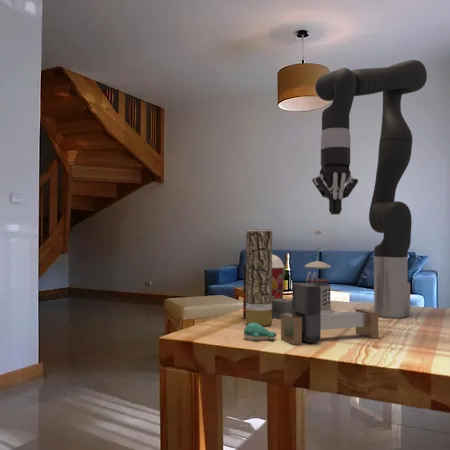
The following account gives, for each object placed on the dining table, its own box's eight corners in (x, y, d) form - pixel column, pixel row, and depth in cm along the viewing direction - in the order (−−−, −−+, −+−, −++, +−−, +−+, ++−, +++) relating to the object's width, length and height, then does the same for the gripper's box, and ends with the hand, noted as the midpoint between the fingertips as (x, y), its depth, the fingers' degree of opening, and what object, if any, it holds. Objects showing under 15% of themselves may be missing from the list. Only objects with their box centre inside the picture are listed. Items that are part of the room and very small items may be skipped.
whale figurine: (248, 335, 112) (248, 319, 112) (278, 338, 109) (278, 322, 109) (240, 341, 106) (240, 324, 106) (271, 344, 104) (271, 327, 104)
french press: (338, 310, 147) (338, 229, 148) (325, 315, 138) (325, 229, 138) (308, 307, 153) (309, 229, 153) (293, 312, 143) (294, 229, 143)
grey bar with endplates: (362, 332, 115) (362, 308, 115) (378, 337, 110) (378, 312, 110) (280, 339, 108) (281, 313, 108) (293, 345, 102) (293, 318, 102)
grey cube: (285, 320, 131) (285, 302, 131) (270, 318, 134) (270, 300, 134) (294, 317, 135) (294, 300, 135) (278, 315, 138) (279, 298, 138)
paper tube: (270, 327, 120) (270, 229, 121) (243, 326, 122) (244, 229, 122) (273, 322, 127) (273, 229, 127) (247, 321, 128) (248, 229, 129)
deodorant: (241, 316, 135) (242, 264, 136) (262, 316, 136) (262, 264, 136) (244, 320, 129) (244, 265, 130) (266, 320, 130) (266, 265, 130)
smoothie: (287, 309, 148) (287, 245, 148) (281, 314, 140) (281, 246, 140) (261, 308, 151) (261, 245, 151) (254, 312, 143) (254, 245, 143)
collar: (303, 334, 111) (303, 282, 111) (320, 341, 104) (320, 286, 104) (292, 335, 110) (292, 283, 110) (308, 342, 103) (308, 286, 103)
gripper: (348, 151, 129) (348, 215, 129) (305, 148, 125) (305, 214, 125) (365, 147, 122) (365, 214, 122) (320, 143, 118) (320, 213, 118)
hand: (335, 214), depth 123 cm, fingers closed
